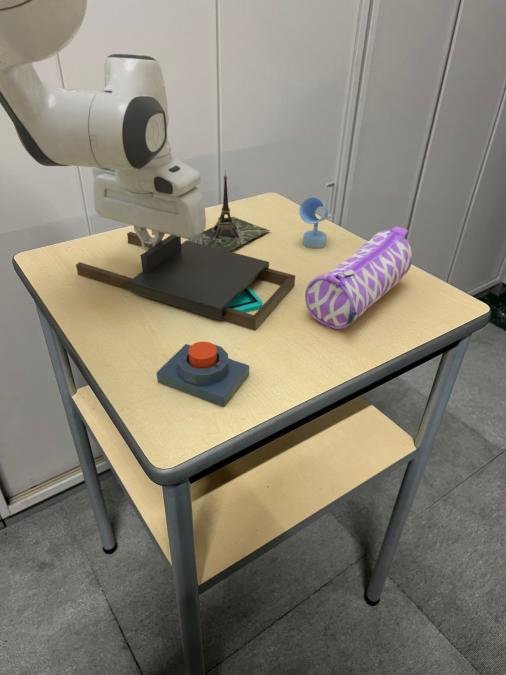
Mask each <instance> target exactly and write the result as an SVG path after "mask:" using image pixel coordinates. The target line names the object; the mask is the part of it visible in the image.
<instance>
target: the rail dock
mask: <svg viewBox="0 0 506 675" xmlns="http://www.w3.org/2000/svg"><path fill="white" fill-rule="evenodd" d="M126 236H127V243H128V244H131V245H134V246H139V247H141V248H142V243H141V240H140V239H139V237H138V236H137V234H136V232H133V231H129V232H127V233H126ZM150 237H151V236H150ZM151 238H153V237H151ZM163 240H164V239H162V240H161V241H163ZM75 267H76V273H77V275H78V276H82V277H84V278H87V279H91V280H95V281H98V282H101V283H103V284H108V285H110V286H113V287H117V288H120V289H123V290H127V291H129V292H131V287H130V280H131V279H133V278H134V277H130V276H127V275H123V274H120V273H117V272H114V271H110V270H106V269H103V268H100V267H97V266H94V265H90V264H87V263H83V262H81V261H79V262H78V263H76V264H75ZM255 279H258V280H261V281H265V282H269V283H273V284H276V285H279V287H278V288H277V289H276V290H275V291H274V292H273V294H272V295H271V296H270V297H269V298H268V299H267V300H266V301H265V303H263V304H262V307H261V308H260V309H257V310H256V312H255V313H254V314H251V313H249V312H246V313H245V312H242V311H239V310H235V309H232V308H229V307H226V308H225V309H223V319H222V320H221V321H224V322H228V323H231V324H235V325H237V326H240V327H244V328H246V329H250V330H253V331H256V330H257V329H258V328H259V327H260V326H261V324H263V322H264V321H266V319H267V318H268V316H270V314H271V313H272V312H273V311H274V310H275V308H276V307H277V306H278V305H279V304H280V303H281V302H282V300H283V299H284V298H285V297H286V296H287V295H288V293H289V292H290V291H291V290H293V288H294V287H295V286H296V285H295V284H296V275H295V274H292V273H288V272H284V271H281V270H276V269H274V268H273V269H272V268H270V267H269V268H265V269H264V270H263V271H262V272H261V273H260V274H259V275H258V276H257V277H256V278H255Z"/></svg>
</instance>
